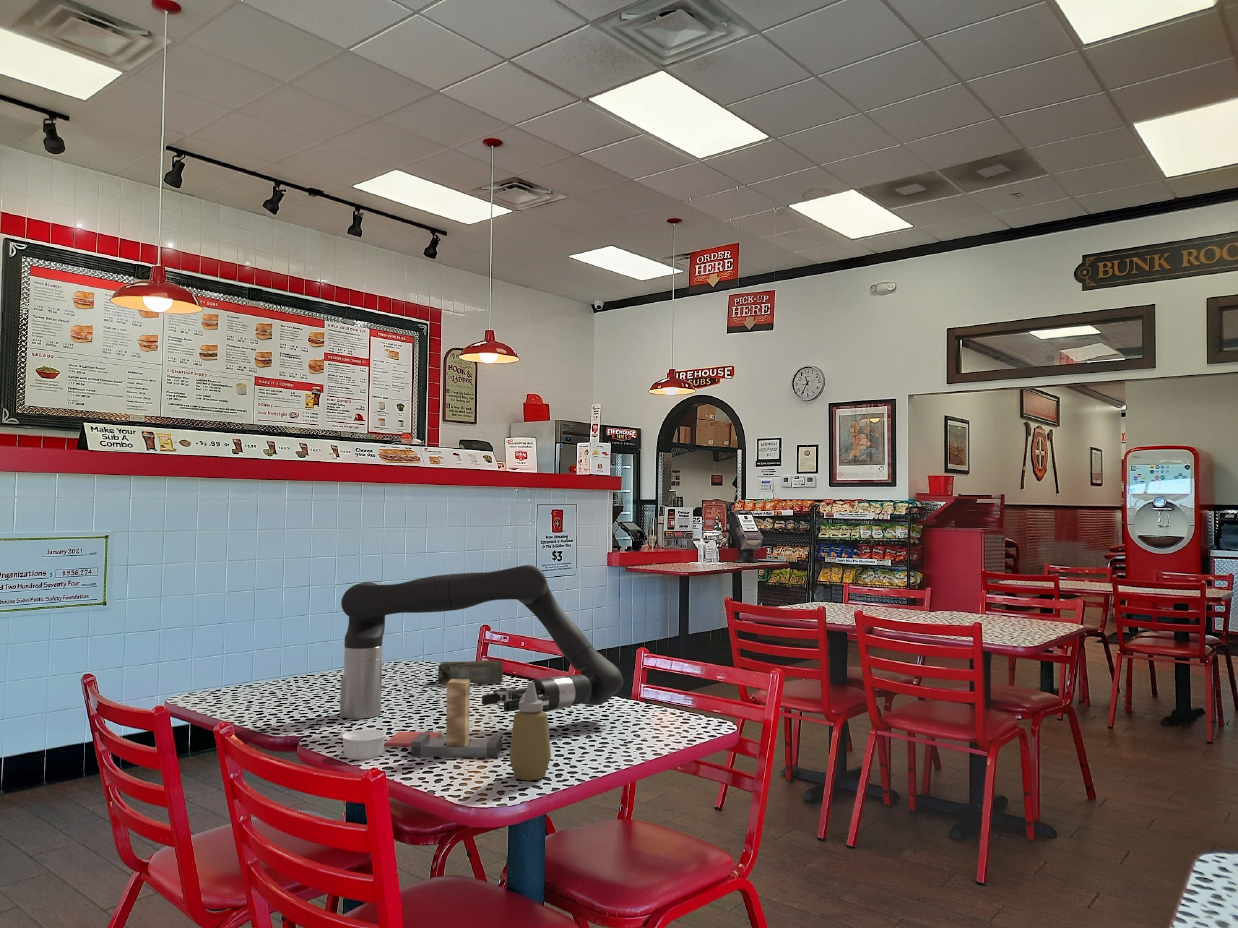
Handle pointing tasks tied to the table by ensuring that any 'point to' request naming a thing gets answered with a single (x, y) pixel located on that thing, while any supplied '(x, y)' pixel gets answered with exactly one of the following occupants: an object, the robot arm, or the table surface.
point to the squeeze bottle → (530, 738)
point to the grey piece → (456, 747)
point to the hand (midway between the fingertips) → (493, 703)
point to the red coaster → (408, 738)
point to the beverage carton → (471, 671)
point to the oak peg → (458, 712)
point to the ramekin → (363, 744)
